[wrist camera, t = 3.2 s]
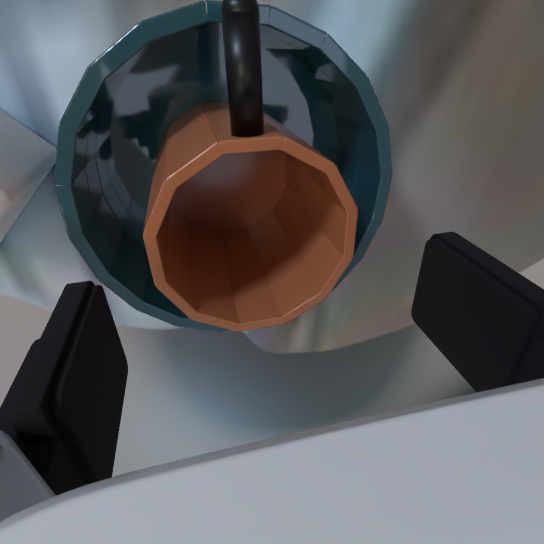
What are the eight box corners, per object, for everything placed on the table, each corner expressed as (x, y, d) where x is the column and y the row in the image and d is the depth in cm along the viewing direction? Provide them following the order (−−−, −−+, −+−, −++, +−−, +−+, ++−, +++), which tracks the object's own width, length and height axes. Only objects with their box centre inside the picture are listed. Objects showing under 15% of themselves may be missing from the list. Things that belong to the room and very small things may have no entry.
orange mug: (290, 224, 22) (347, 313, 15) (170, 239, 21) (168, 344, 14) (290, 11, 17) (383, -16, 9) (126, 14, 15) (81, -14, 8)
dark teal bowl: (37, 202, 19) (-6, 252, 15) (180, -73, 15) (183, -125, 10) (251, 307, 26) (267, 363, 21) (391, 139, 22) (449, 163, 17)
